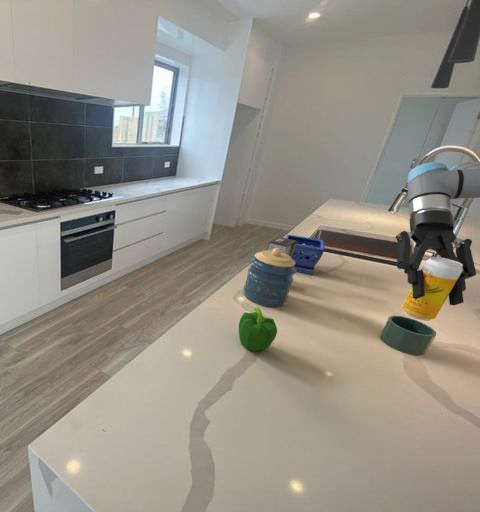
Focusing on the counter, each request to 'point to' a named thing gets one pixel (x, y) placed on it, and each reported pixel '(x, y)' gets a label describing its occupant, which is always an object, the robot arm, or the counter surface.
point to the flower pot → (306, 253)
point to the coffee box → (283, 245)
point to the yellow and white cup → (433, 288)
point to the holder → (407, 335)
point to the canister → (269, 278)
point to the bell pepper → (256, 331)
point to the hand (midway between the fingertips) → (437, 300)
